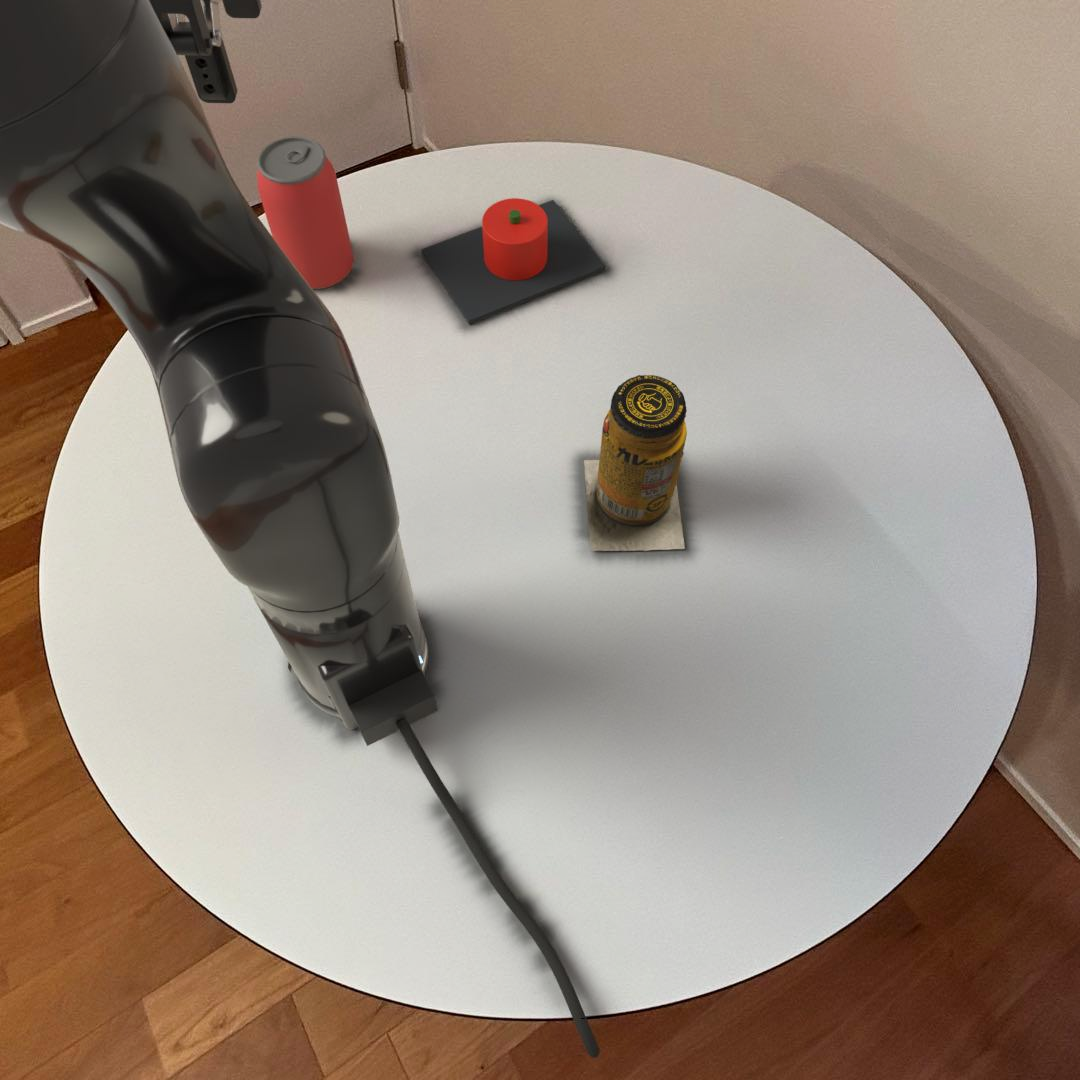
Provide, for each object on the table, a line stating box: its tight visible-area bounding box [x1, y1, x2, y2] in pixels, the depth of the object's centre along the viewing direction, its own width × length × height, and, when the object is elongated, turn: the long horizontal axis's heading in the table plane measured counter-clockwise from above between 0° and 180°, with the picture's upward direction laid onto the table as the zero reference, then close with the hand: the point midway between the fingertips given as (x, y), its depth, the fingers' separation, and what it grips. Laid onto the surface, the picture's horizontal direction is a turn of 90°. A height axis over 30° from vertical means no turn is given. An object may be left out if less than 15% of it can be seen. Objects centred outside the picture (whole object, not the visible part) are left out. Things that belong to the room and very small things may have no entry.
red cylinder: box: [481, 197, 548, 281], centre depth 88 cm, size 6×6×5 cm
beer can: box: [256, 135, 355, 290], centre depth 85 cm, size 7×7×12 cm
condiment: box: [583, 374, 688, 552], centre depth 72 cm, size 7×8×12 cm
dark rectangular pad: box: [420, 199, 606, 326], centre depth 90 cm, size 10×14×1 cm
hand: (233, 55), depth 61 cm, fingers open, 8 cm apart
